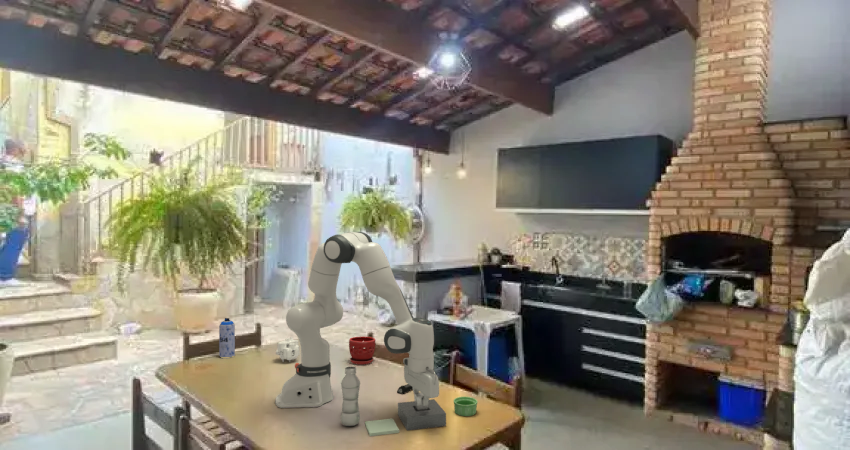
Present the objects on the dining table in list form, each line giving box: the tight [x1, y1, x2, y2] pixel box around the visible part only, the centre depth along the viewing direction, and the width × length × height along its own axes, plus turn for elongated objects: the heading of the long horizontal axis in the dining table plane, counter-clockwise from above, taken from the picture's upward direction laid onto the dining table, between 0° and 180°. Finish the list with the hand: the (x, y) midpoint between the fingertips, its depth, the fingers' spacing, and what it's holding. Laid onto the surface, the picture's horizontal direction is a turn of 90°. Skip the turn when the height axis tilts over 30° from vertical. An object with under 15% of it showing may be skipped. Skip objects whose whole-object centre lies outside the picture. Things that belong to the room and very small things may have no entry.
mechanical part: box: [275, 336, 301, 363], centre depth 253 cm, size 11×12×12 cm
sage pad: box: [364, 417, 400, 437], centre depth 173 cm, size 10×10×1 cm
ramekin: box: [453, 396, 479, 417], centre depth 188 cm, size 9×9×4 cm
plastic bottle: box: [340, 366, 361, 427], centre depth 176 cm, size 6×7×20 cm
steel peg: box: [413, 391, 428, 411], centre depth 180 cm, size 4×4×9 cm
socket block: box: [397, 398, 447, 432], centre depth 180 cm, size 14×14×4 cm
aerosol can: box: [218, 317, 236, 358], centre depth 261 cm, size 8×8×20 cm
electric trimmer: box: [396, 383, 413, 395], centre depth 213 cm, size 4×16×3 cm, turn 141°
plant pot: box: [348, 335, 377, 366], centre depth 251 cm, size 13×13×12 cm
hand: (421, 402), depth 180 cm, fingers closed on steel peg, 4 cm apart
